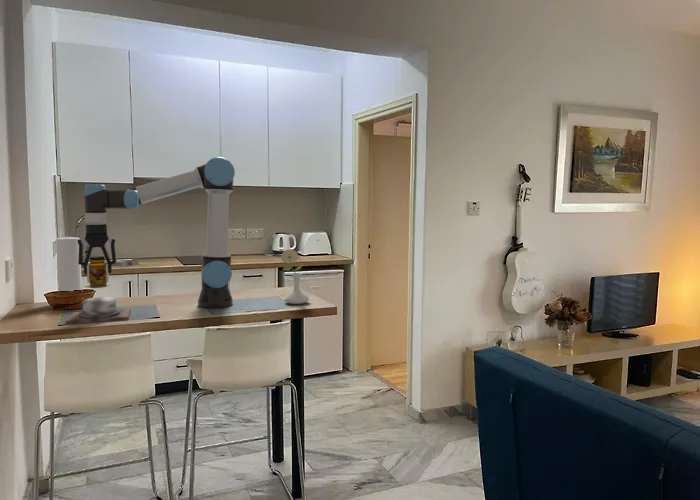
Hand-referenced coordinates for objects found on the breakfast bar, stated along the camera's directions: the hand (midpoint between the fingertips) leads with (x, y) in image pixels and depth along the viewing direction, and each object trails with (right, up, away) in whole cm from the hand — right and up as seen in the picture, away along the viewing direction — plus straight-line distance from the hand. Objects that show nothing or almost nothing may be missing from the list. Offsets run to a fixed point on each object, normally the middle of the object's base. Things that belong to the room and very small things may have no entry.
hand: (98, 281), depth 210 cm
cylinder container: (-27, -12, +30) cm, 42 cm away
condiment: (0, -2, 0) cm, 2 cm away
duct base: (0, -15, +1) cm, 15 cm away
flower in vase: (+75, -12, +32) cm, 83 cm away
